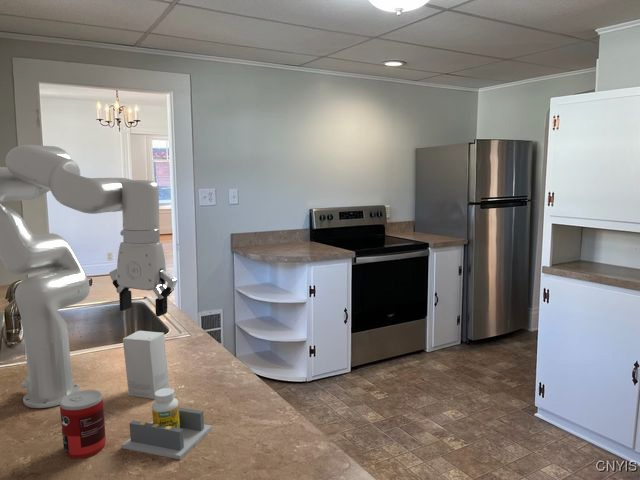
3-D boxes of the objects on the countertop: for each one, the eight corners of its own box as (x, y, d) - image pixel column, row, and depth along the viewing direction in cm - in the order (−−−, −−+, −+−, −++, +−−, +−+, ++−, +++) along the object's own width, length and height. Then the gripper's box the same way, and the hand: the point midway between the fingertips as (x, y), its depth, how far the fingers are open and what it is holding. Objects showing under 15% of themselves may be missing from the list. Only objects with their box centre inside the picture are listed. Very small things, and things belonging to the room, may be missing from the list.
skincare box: (169, 389, 127) (166, 332, 125) (153, 401, 121) (149, 340, 118) (143, 385, 129) (139, 329, 127) (126, 396, 123) (121, 337, 121)
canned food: (73, 439, 104) (68, 390, 102) (111, 437, 104) (108, 388, 103) (57, 460, 96) (52, 408, 94) (98, 458, 97) (94, 406, 95)
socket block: (121, 448, 100) (120, 425, 99) (158, 419, 111) (156, 399, 111) (180, 459, 96) (179, 436, 95) (212, 429, 107) (211, 407, 106)
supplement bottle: (175, 425, 107) (173, 384, 106) (183, 436, 103) (181, 393, 101) (150, 432, 104) (148, 390, 103) (157, 444, 100) (154, 400, 98)
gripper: (97, 235, 106) (100, 311, 109) (163, 242, 100) (165, 322, 103) (121, 231, 113) (124, 302, 116) (185, 237, 107) (186, 312, 110)
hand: (143, 311), depth 109 cm, fingers open, 9 cm apart
